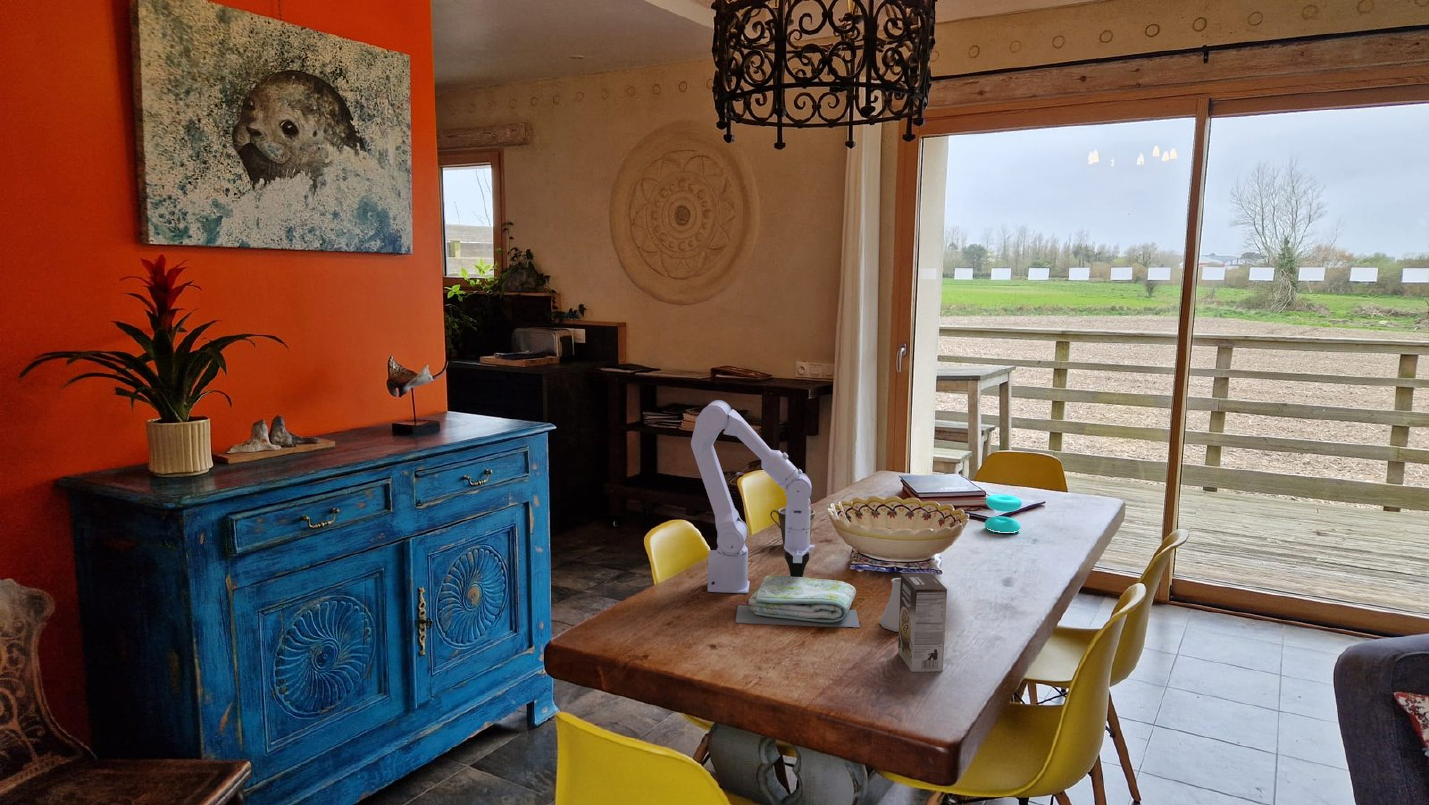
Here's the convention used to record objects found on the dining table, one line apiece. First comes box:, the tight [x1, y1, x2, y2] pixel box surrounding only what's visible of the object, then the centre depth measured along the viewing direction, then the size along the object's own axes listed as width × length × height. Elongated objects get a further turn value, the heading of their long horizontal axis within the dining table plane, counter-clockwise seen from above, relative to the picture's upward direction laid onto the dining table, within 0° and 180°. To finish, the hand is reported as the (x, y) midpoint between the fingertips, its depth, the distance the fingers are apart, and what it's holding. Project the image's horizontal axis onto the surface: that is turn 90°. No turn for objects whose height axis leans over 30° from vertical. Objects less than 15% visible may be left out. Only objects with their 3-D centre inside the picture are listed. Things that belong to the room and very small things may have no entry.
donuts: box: [984, 494, 1023, 532], centre depth 264 cm, size 10×10×10 cm
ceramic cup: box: [769, 506, 816, 547], centre depth 246 cm, size 13×10×10 cm
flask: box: [878, 577, 901, 633], centre depth 189 cm, size 7×7×10 cm
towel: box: [748, 574, 857, 623], centre depth 199 cm, size 18×21×5 cm
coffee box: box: [897, 572, 948, 673], centre depth 171 cm, size 9×6×16 cm
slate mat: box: [735, 604, 860, 629], centre depth 194 cm, size 26×10×1 cm, turn 86°
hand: (796, 583), depth 210 cm, fingers closed
